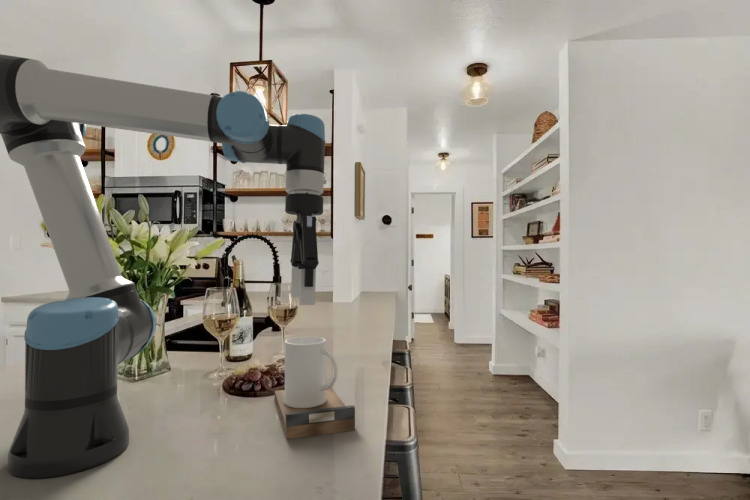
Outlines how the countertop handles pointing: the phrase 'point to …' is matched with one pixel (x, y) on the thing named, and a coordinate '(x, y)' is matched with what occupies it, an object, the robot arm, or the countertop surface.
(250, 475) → the countertop surface
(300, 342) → the mug
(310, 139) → the robot arm
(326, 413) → the flat wooden box
